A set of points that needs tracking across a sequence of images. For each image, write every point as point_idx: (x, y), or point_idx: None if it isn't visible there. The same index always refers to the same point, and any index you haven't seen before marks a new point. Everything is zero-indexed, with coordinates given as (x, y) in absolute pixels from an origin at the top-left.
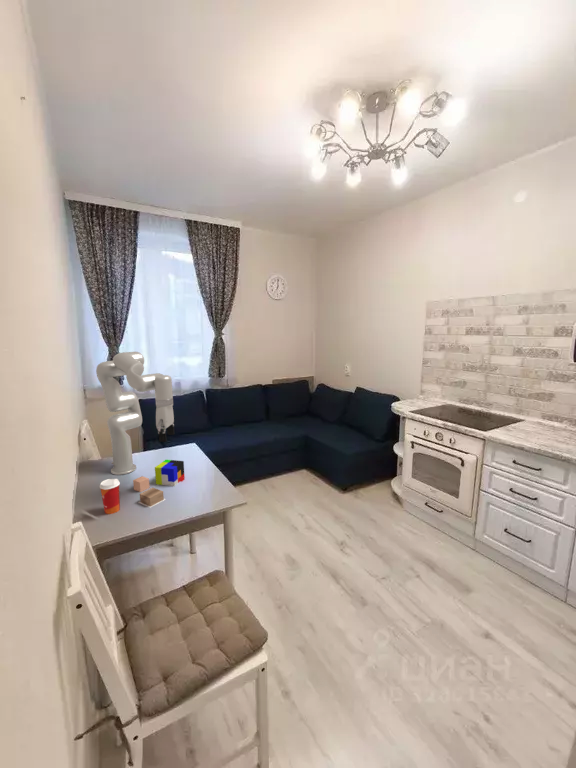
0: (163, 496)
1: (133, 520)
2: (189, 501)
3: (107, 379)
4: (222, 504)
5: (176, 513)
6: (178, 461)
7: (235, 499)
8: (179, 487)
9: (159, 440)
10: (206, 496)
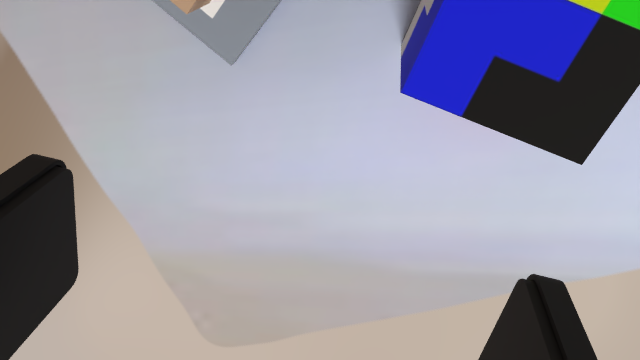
0: (201, 6)
1: None
2: (212, 151)
3: None
4: (178, 291)
5: (89, 95)
6: (591, 118)
7: (221, 340)
8: None
9: (23, 169)
10: (260, 231)
